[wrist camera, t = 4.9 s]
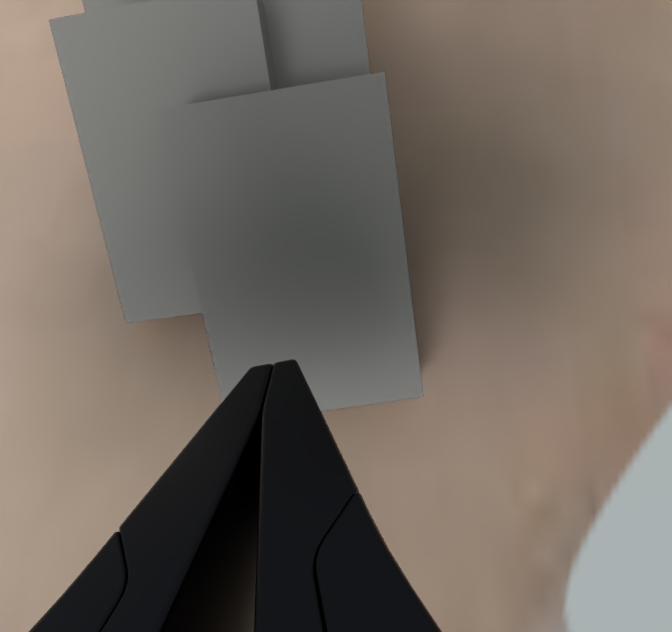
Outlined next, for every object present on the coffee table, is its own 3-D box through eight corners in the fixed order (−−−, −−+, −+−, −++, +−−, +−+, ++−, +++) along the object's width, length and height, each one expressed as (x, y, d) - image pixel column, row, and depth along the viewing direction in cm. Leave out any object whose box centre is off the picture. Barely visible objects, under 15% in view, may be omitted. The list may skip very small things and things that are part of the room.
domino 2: (384, 190, 14) (346, -132, 12) (209, 218, 15) (146, -89, 13) (381, 193, 16) (346, -97, 14) (221, 217, 16) (166, -60, 14)
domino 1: (304, 299, 14) (253, -19, 12) (125, 323, 14) (48, 19, 12) (308, 292, 15) (264, 5, 13) (146, 314, 15) (79, 39, 14)
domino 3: (423, 396, 13) (384, 71, 11) (226, 424, 13) (156, 109, 11) (414, 380, 14) (379, 88, 12) (237, 406, 14) (176, 122, 13)
